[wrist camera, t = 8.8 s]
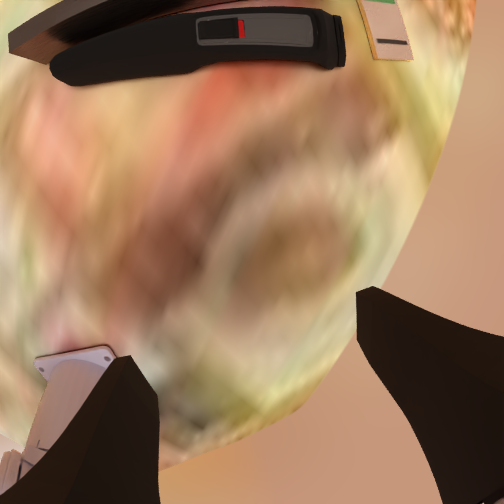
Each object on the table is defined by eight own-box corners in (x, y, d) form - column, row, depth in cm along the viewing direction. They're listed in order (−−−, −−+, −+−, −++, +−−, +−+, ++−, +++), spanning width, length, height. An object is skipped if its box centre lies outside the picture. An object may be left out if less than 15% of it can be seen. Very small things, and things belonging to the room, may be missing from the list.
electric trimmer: (71, 44, 11) (48, 32, 8) (335, 18, 13) (359, 3, 10) (73, 102, 13) (48, 99, 10) (341, 73, 15) (367, 65, 12)
